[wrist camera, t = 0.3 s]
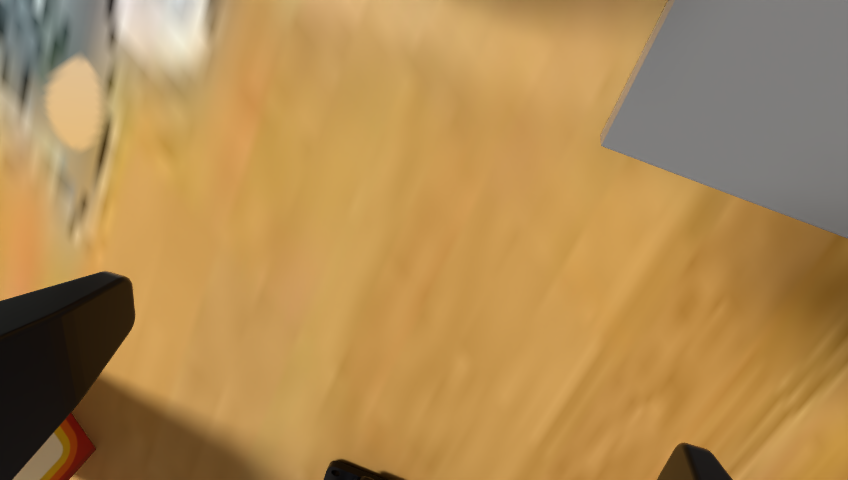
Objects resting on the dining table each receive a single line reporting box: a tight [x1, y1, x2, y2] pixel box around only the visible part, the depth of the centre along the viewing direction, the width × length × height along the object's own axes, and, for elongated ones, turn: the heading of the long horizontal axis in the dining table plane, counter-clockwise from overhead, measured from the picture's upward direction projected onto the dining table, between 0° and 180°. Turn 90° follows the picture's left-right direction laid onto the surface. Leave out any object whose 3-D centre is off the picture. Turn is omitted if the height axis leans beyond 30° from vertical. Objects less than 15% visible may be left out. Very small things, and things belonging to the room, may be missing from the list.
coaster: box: [600, 0, 848, 238], centre depth 17 cm, size 10×10×1 cm
